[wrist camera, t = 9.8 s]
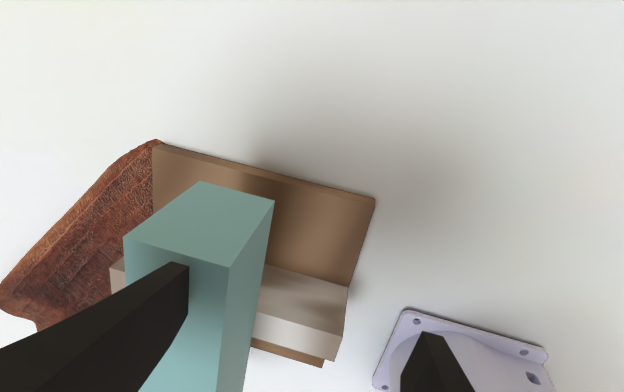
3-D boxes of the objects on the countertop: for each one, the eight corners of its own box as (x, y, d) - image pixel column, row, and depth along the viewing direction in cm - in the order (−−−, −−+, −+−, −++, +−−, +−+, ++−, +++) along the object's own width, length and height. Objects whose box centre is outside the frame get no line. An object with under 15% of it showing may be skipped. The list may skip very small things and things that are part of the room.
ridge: (374, 199, 19) (374, 245, 14) (323, 356, 25) (312, 423, 21) (162, 143, 20) (100, 170, 15) (162, 307, 26) (117, 361, 22)
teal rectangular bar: (238, 411, 21) (202, 506, 17) (188, 394, 22) (139, 484, 17) (274, 200, 14) (229, 267, 10) (199, 180, 15) (122, 236, 10)
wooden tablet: (145, 115, 18) (254, 250, 20) (171, 112, 20) (268, 234, 22) (-20, 299, 29) (57, 381, 30) (8, 285, 31) (79, 362, 32)
